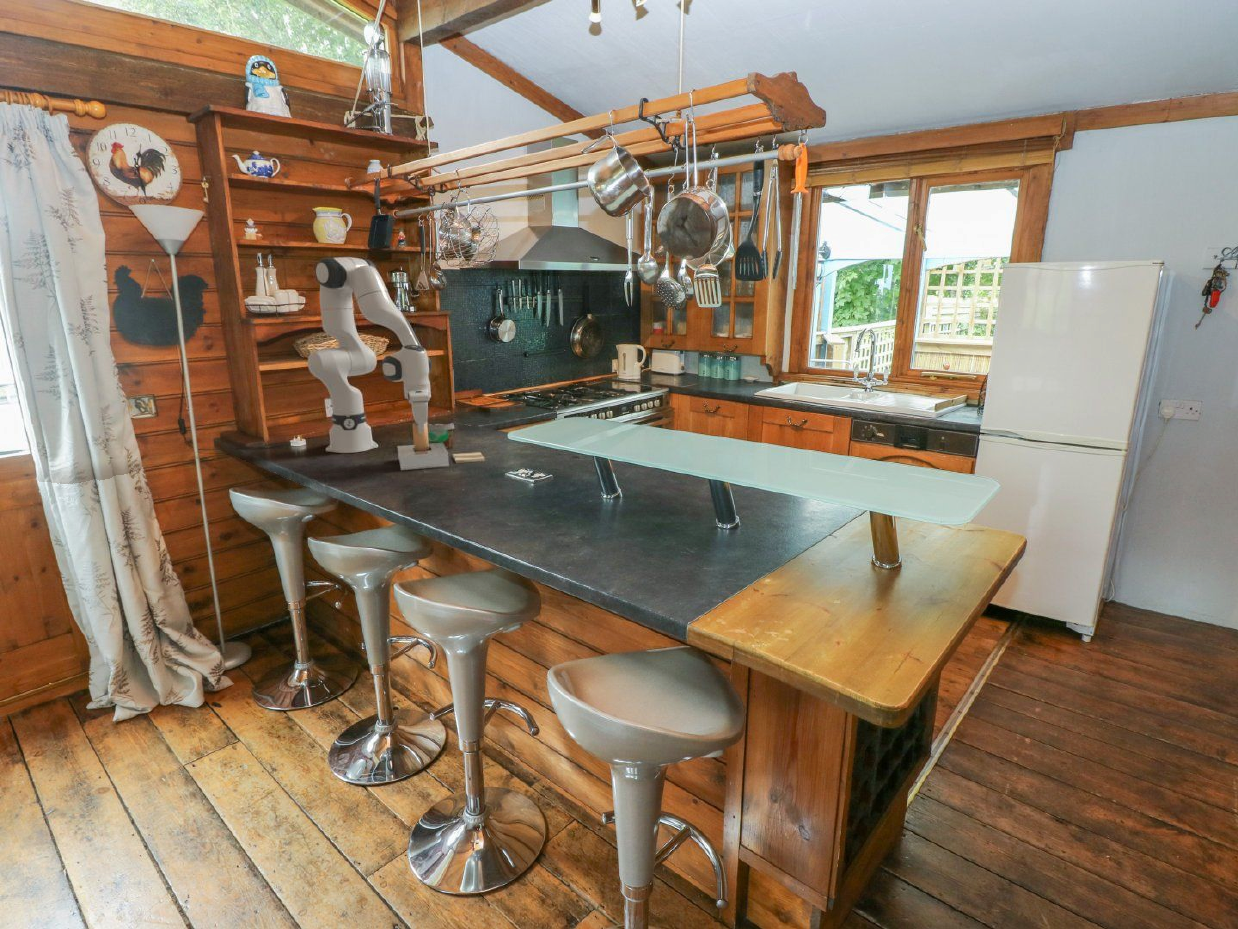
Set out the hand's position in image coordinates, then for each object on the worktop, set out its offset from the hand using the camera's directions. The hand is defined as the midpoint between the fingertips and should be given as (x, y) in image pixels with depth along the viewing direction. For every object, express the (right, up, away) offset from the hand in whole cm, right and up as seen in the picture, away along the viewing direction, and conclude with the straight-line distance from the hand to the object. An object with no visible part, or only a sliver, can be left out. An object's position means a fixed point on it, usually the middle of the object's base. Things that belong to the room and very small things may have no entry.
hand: (420, 431), depth 235 cm
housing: (0, -11, +2) cm, 11 cm away
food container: (0, -6, +23) cm, 24 cm away
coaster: (+15, -10, +8) cm, 20 cm away
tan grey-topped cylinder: (0, -7, +2) cm, 7 cm away
